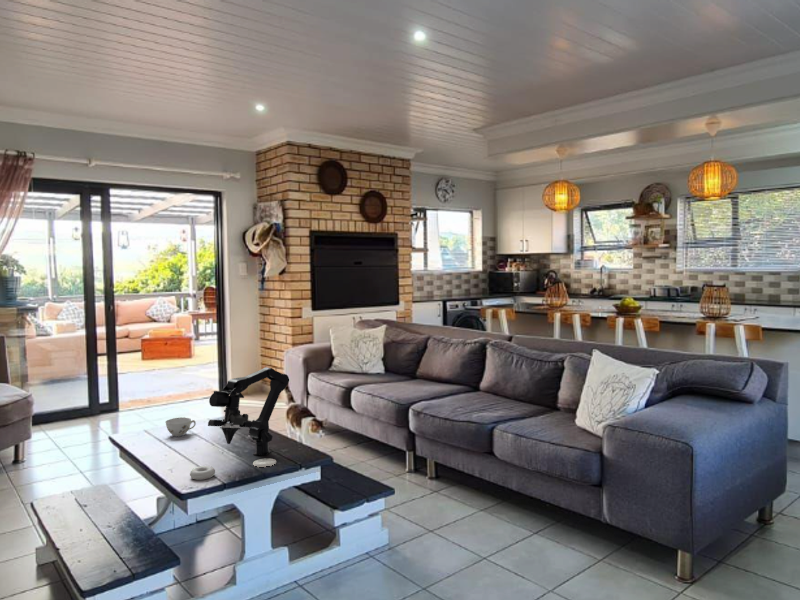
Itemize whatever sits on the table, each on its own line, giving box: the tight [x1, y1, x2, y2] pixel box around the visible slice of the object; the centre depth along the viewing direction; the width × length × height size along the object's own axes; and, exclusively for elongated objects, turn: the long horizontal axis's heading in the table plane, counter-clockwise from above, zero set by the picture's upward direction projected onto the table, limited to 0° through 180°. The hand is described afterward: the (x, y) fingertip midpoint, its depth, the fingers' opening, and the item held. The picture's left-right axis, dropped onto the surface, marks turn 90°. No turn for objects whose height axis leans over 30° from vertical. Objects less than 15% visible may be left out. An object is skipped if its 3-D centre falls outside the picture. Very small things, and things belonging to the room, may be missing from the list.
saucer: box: [252, 457, 277, 468], centre depth 257 cm, size 10×10×1 cm
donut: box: [189, 465, 216, 481], centre depth 241 cm, size 10×4×10 cm
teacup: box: [165, 416, 197, 437], centre depth 306 cm, size 15×12×8 cm
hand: (228, 443), depth 255 cm, fingers closed
